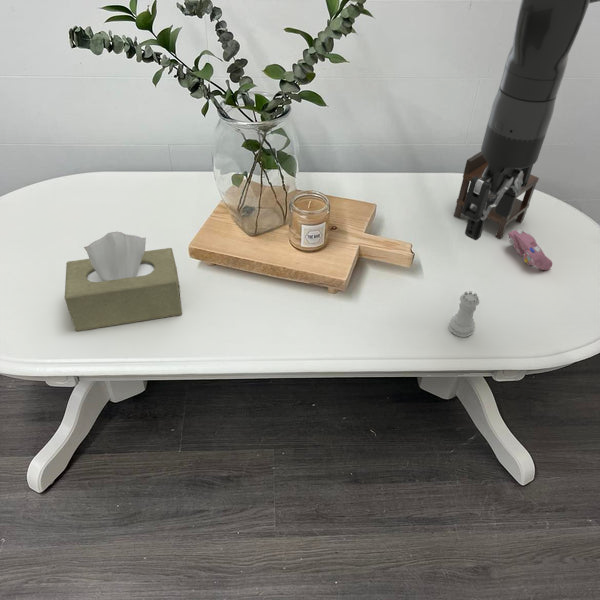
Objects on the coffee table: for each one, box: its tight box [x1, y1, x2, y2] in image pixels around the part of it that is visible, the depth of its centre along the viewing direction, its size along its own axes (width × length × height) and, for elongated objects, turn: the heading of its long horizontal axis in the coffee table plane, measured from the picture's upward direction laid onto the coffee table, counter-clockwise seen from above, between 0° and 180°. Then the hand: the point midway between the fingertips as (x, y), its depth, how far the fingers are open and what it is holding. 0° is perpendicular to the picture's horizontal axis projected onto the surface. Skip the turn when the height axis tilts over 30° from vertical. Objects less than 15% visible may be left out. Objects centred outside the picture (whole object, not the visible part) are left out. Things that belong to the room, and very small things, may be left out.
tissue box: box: [64, 230, 183, 332], centre depth 99 cm, size 19×10×16 cm, turn 105°
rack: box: [453, 151, 540, 240], centre depth 123 cm, size 12×10×14 cm
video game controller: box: [507, 228, 553, 271], centre depth 115 cm, size 10×5×7 cm, turn 17°
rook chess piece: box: [448, 290, 480, 338], centre depth 99 cm, size 4×4×8 cm
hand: (487, 225), depth 86 cm, fingers open, 8 cm apart
